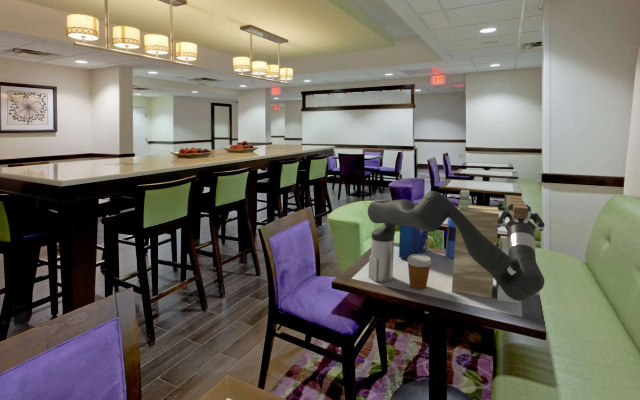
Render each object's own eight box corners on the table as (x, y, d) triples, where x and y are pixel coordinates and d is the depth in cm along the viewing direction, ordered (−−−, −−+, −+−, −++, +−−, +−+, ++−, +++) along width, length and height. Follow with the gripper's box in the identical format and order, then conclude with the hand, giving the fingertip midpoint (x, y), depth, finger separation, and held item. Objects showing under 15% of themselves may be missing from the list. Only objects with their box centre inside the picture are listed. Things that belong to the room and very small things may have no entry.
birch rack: (491, 298, 138) (500, 195, 130) (451, 291, 143) (458, 192, 136) (490, 284, 150) (499, 189, 143) (454, 278, 156) (460, 187, 148)
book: (410, 262, 175) (412, 210, 170) (396, 259, 179) (398, 208, 175) (427, 250, 192) (430, 203, 187) (414, 248, 196) (416, 201, 192)
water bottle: (441, 256, 183) (444, 207, 179) (451, 252, 190) (454, 204, 185) (459, 261, 177) (462, 210, 172) (468, 256, 183) (472, 207, 178)
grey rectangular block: (518, 303, 133) (524, 249, 129) (497, 300, 136) (502, 246, 132) (515, 287, 147) (520, 237, 143) (495, 284, 149) (500, 235, 146)
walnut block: (527, 220, 119) (528, 208, 119) (513, 219, 121) (514, 207, 120) (519, 206, 143) (520, 196, 142) (507, 205, 144) (508, 195, 144)
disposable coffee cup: (415, 293, 142) (417, 263, 139) (401, 284, 150) (402, 255, 148) (435, 289, 145) (437, 260, 143) (419, 280, 154) (421, 252, 152)
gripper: (494, 247, 119) (495, 212, 131) (545, 253, 113) (541, 216, 125) (496, 230, 114) (497, 196, 126) (550, 235, 109) (545, 199, 121)
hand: (519, 206), depth 126 cm, fingers closed on walnut block, 4 cm apart
